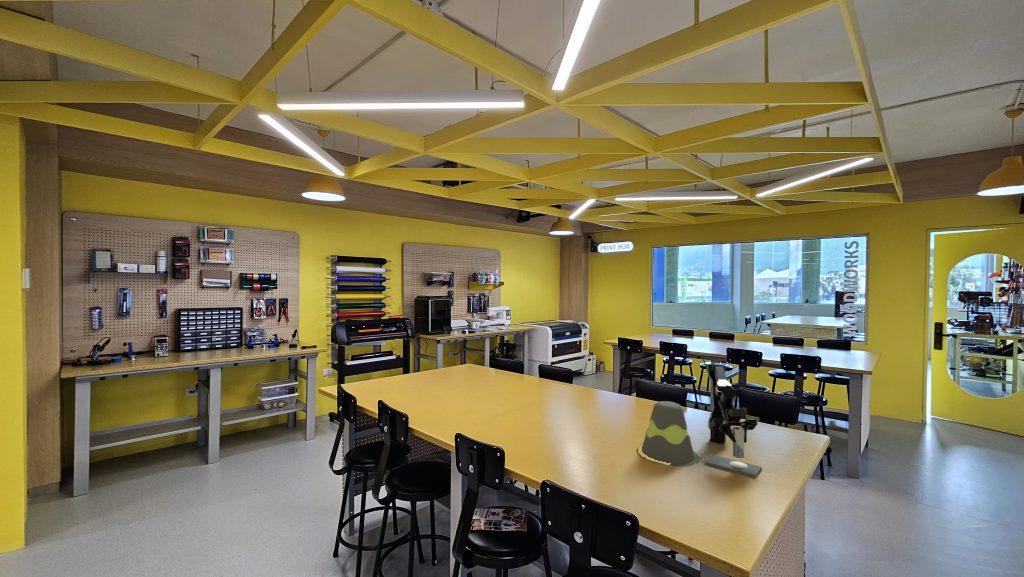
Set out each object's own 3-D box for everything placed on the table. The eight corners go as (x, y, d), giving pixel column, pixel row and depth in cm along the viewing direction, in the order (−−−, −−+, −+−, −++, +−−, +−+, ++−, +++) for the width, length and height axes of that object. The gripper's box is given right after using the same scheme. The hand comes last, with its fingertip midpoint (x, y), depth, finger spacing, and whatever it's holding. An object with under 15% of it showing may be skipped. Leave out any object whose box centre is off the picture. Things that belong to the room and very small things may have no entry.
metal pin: (730, 455, 185) (730, 428, 185) (736, 453, 188) (736, 426, 188) (740, 459, 182) (741, 431, 182) (746, 456, 184) (746, 429, 184)
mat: (704, 464, 188) (704, 461, 188) (712, 457, 196) (712, 454, 196) (755, 477, 174) (755, 474, 175) (761, 469, 183) (761, 466, 183)
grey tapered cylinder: (708, 453, 201) (708, 403, 201) (685, 472, 180) (686, 415, 180) (652, 439, 219) (652, 393, 220) (626, 454, 199) (626, 403, 199)
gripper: (713, 400, 189) (724, 433, 178) (755, 400, 188) (769, 434, 177) (705, 412, 197) (716, 445, 186) (746, 413, 196) (759, 445, 185)
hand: (740, 442), depth 183 cm, fingers closed on metal pin, 4 cm apart
